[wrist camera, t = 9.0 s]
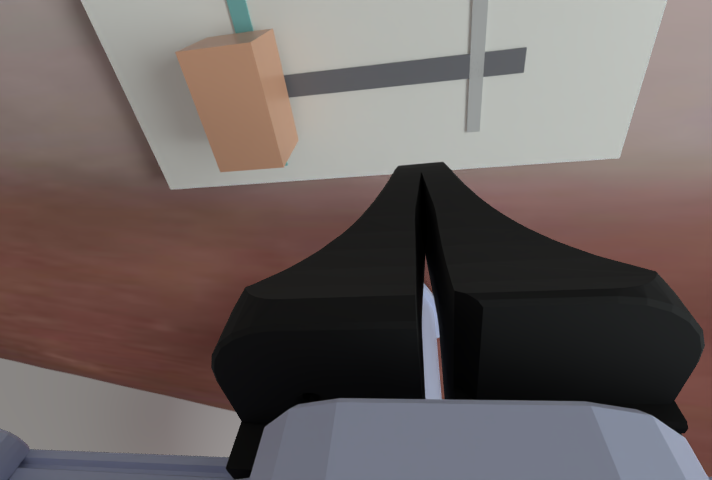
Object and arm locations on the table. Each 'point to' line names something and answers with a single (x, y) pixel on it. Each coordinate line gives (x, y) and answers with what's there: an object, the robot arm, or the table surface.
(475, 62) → the fader board
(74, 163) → the table surface
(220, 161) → the block
